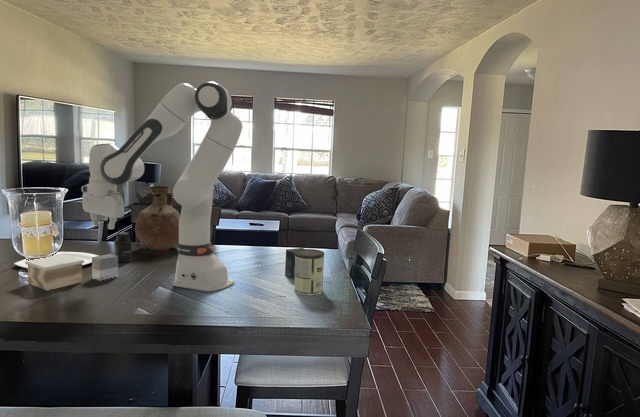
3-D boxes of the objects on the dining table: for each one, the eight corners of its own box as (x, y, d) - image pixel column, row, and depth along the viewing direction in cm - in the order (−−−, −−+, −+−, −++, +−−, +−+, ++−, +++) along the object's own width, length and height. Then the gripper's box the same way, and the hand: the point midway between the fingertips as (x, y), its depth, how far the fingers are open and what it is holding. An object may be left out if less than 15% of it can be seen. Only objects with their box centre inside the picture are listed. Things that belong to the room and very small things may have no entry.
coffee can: (299, 285, 161) (300, 247, 159) (326, 288, 158) (327, 250, 156) (289, 293, 151) (290, 253, 149) (317, 297, 148) (319, 256, 146)
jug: (126, 253, 198) (125, 187, 194) (147, 243, 219) (146, 183, 215) (174, 255, 197) (173, 189, 193) (189, 245, 218) (189, 185, 214)
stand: (84, 282, 154) (84, 260, 153) (45, 291, 143) (44, 267, 142) (64, 275, 161) (63, 254, 160) (26, 283, 150) (24, 261, 149)
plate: (112, 260, 186) (112, 255, 186) (58, 277, 160) (58, 272, 160) (61, 254, 193) (61, 249, 193) (2, 269, 167) (2, 264, 167)
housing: (118, 276, 162) (117, 255, 161) (100, 281, 156) (99, 259, 155) (110, 274, 165) (109, 253, 164) (92, 278, 159) (91, 257, 158)
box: (291, 278, 168) (292, 252, 167) (284, 275, 173) (285, 249, 171) (309, 276, 172) (309, 250, 171) (301, 272, 177) (302, 247, 176)
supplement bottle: (127, 263, 180) (127, 235, 179) (111, 262, 181) (110, 234, 179) (134, 259, 187) (134, 232, 186) (119, 258, 187) (118, 231, 186)
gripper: (129, 191, 153) (128, 230, 155) (95, 186, 164) (95, 222, 166) (112, 192, 148) (112, 232, 150) (78, 186, 159) (79, 224, 160)
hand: (103, 227), depth 158 cm, fingers open, 8 cm apart
